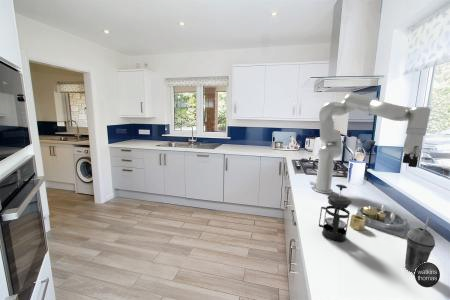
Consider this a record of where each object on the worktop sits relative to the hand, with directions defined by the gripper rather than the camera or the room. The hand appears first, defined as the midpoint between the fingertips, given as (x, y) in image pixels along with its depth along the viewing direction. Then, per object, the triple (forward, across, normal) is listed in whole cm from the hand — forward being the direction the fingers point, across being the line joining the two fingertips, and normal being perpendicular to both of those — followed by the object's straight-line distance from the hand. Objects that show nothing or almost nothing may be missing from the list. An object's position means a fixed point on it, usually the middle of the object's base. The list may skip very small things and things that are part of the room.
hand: (409, 164), depth 112 cm
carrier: (+28, +14, -11) cm, 33 cm away
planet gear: (+28, +27, -22) cm, 45 cm away
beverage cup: (+29, +51, -7) cm, 59 cm away
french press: (+28, +41, -33) cm, 60 cm away
